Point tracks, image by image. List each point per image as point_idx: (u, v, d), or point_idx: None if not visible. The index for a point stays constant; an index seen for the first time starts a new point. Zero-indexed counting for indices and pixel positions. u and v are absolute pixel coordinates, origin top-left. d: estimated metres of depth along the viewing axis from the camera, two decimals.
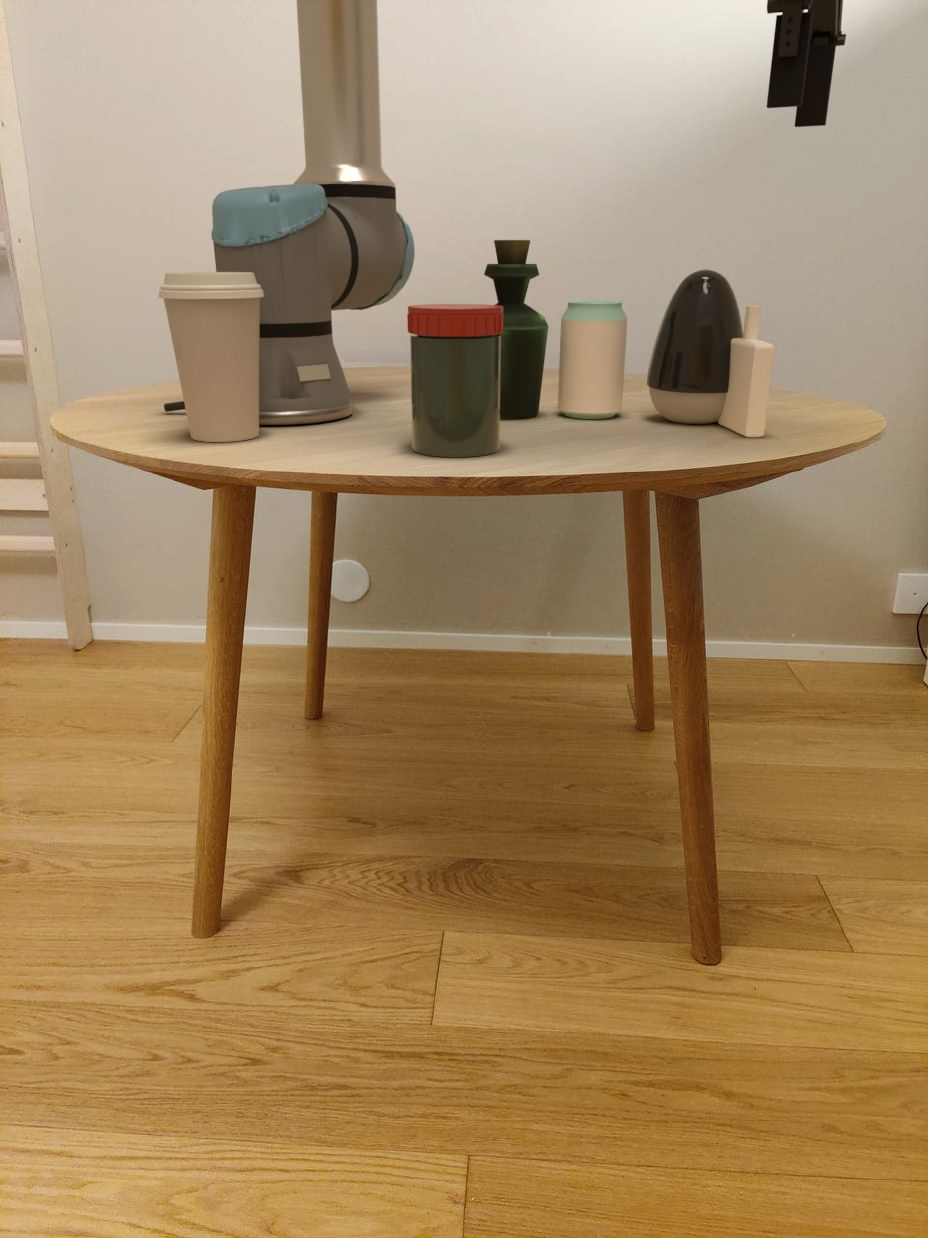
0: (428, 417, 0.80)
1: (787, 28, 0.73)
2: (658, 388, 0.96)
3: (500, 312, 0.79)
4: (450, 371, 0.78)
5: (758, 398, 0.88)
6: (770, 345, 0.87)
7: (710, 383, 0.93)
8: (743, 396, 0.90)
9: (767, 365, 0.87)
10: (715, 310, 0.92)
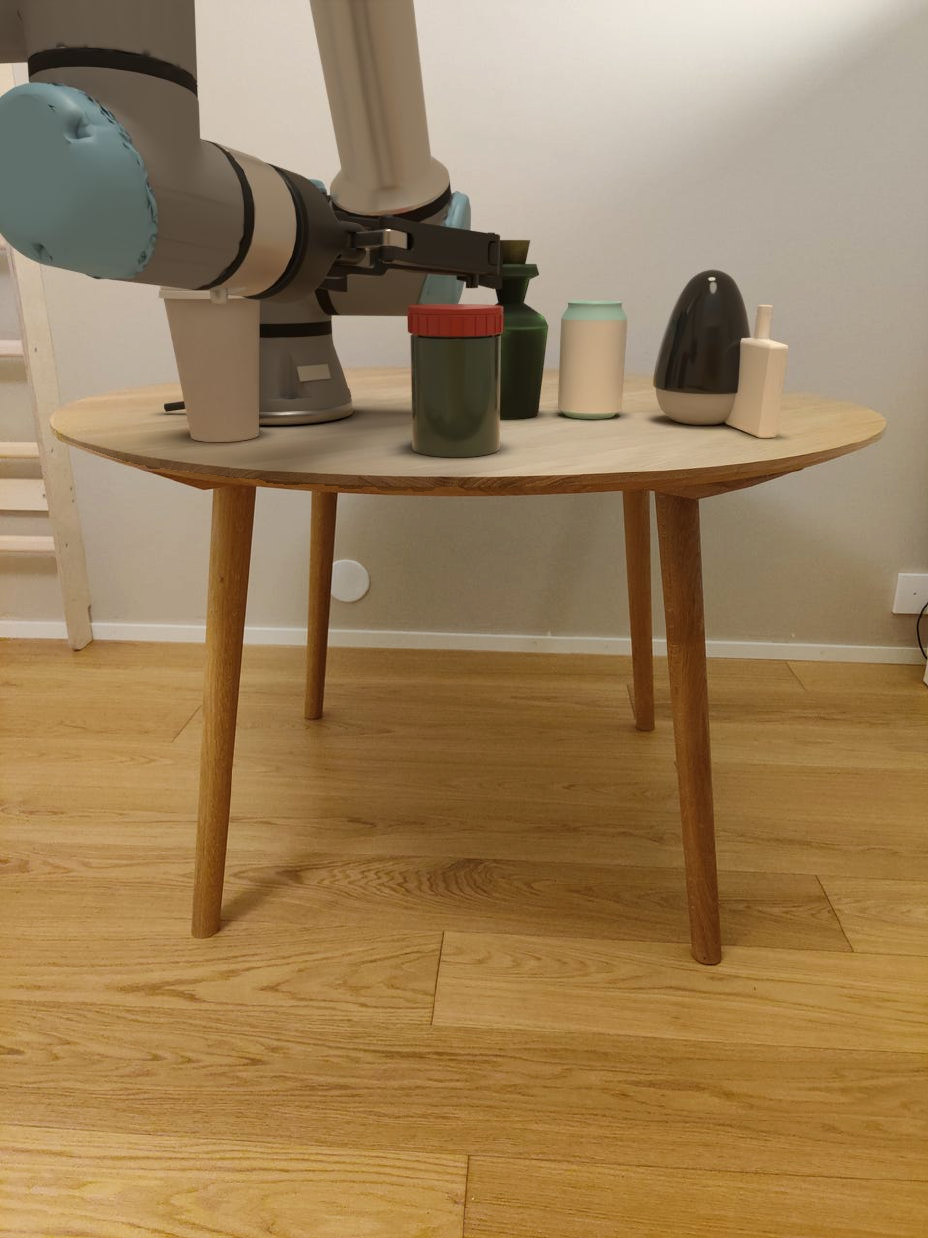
0: (428, 417, 0.80)
1: None
2: (667, 389, 0.95)
3: (500, 312, 0.79)
4: (450, 371, 0.78)
5: (771, 399, 0.88)
6: (784, 345, 0.87)
7: (721, 384, 0.92)
8: (755, 397, 0.90)
9: (781, 365, 0.87)
10: (725, 310, 0.91)
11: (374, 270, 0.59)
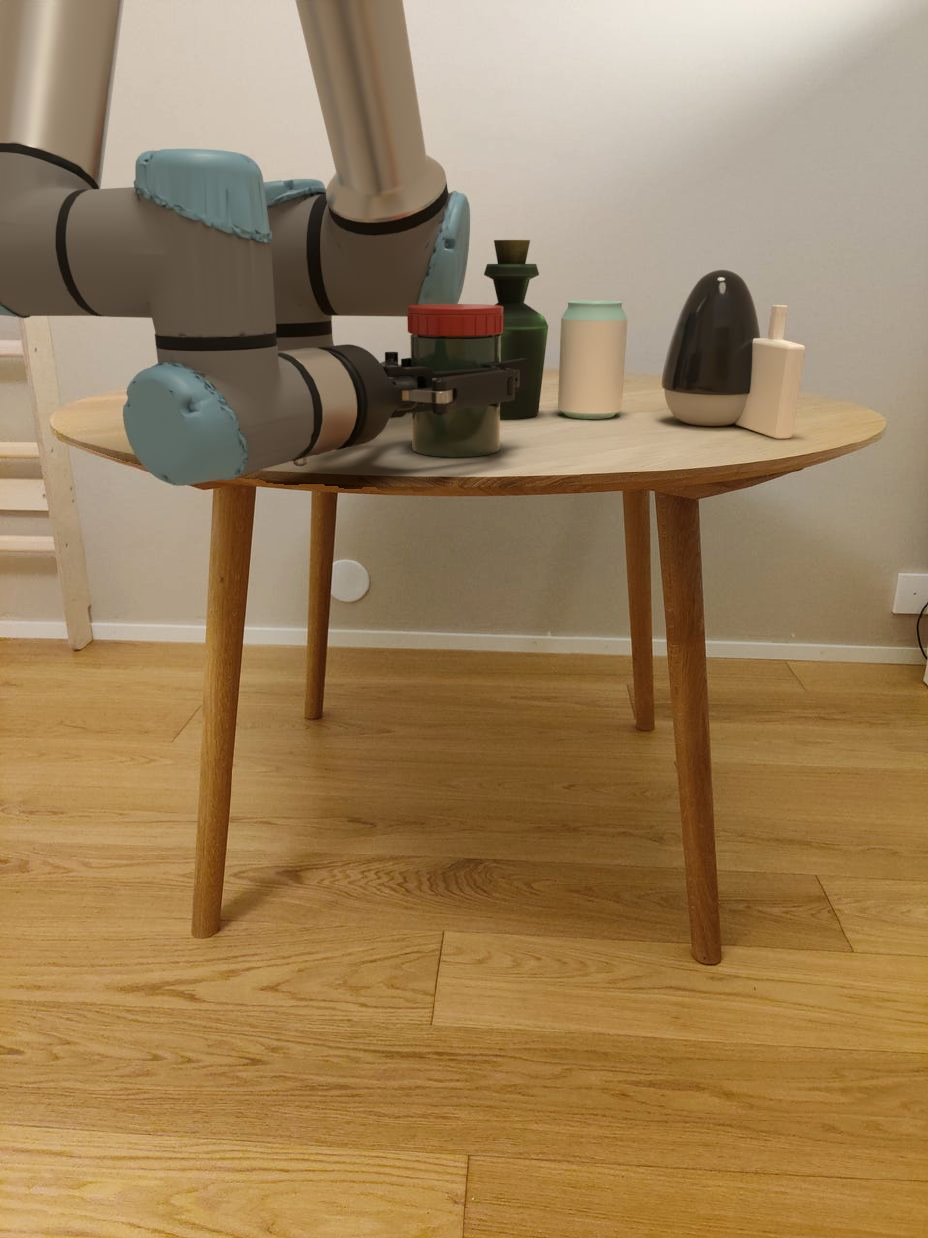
0: (428, 417, 0.80)
1: None
2: (679, 391, 0.94)
3: (500, 313, 0.79)
4: None
5: (788, 399, 0.88)
6: (801, 346, 0.86)
7: (734, 385, 0.92)
8: (771, 397, 0.89)
9: (798, 366, 0.87)
10: (737, 310, 0.90)
11: (424, 407, 0.74)
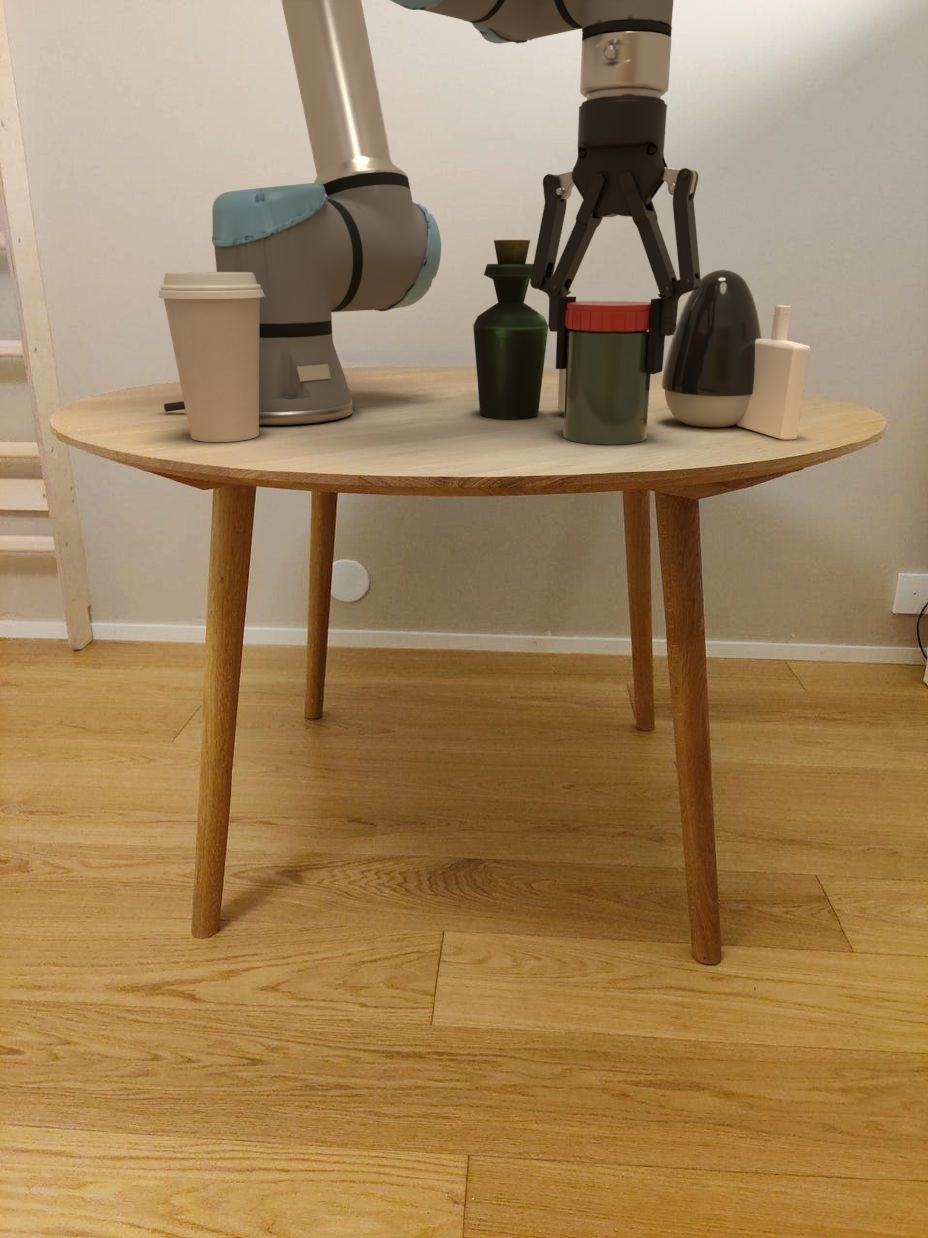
0: (585, 407, 0.86)
1: None
2: (682, 392, 0.93)
3: None
4: (610, 364, 0.83)
5: (794, 400, 0.87)
6: (807, 346, 0.86)
7: (738, 386, 0.91)
8: (775, 398, 0.89)
9: (804, 366, 0.86)
10: (740, 311, 0.90)
11: (645, 209, 0.80)
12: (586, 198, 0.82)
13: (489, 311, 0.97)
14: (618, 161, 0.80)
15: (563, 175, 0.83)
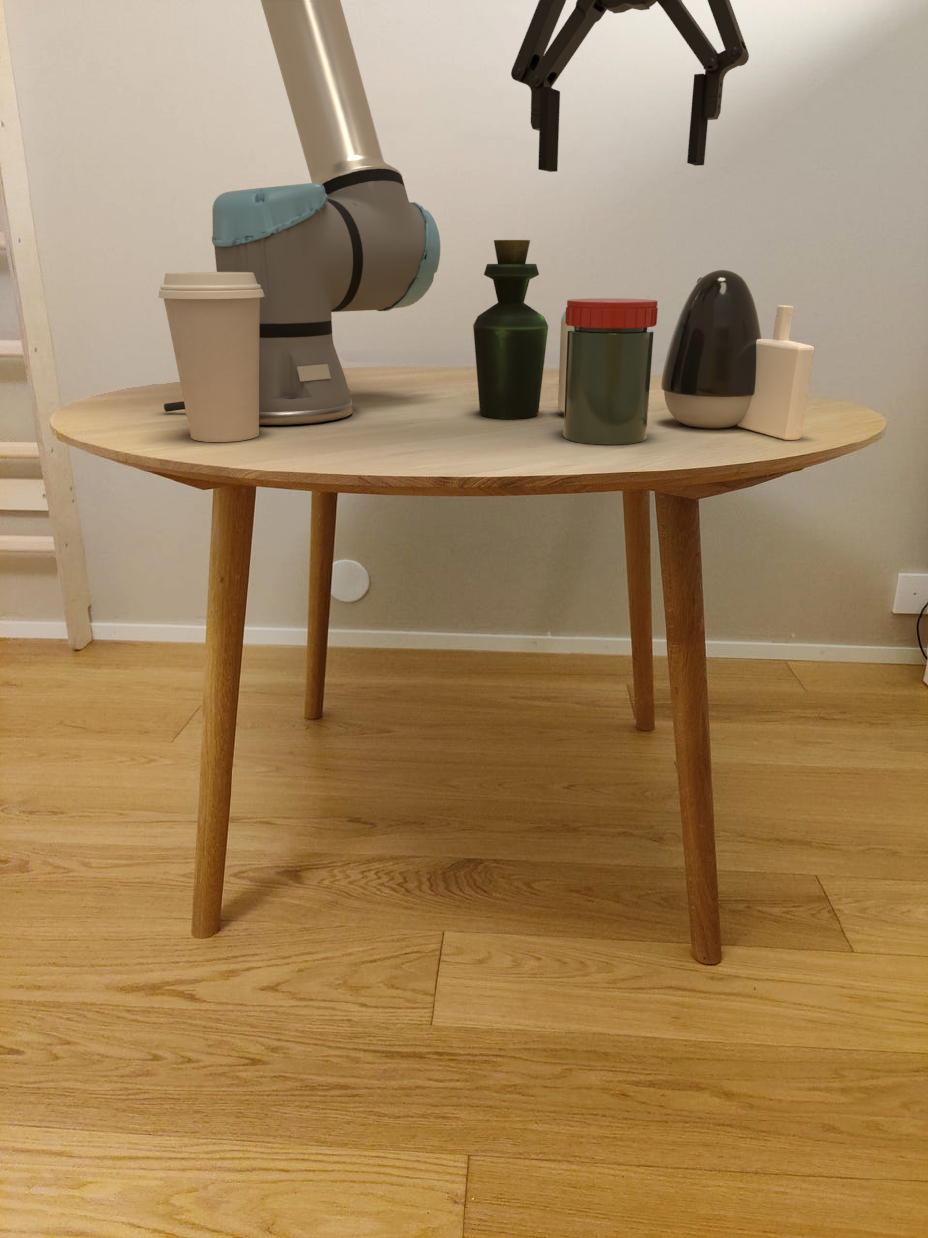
0: (585, 407, 0.86)
1: (719, 91, 0.76)
2: (683, 393, 0.92)
3: None
4: (610, 364, 0.83)
5: (798, 401, 0.87)
6: (811, 346, 0.86)
7: (740, 387, 0.91)
8: (779, 399, 0.88)
9: (808, 367, 0.86)
10: (741, 311, 0.89)
11: None
12: None
13: (489, 311, 0.97)
14: None
15: None
